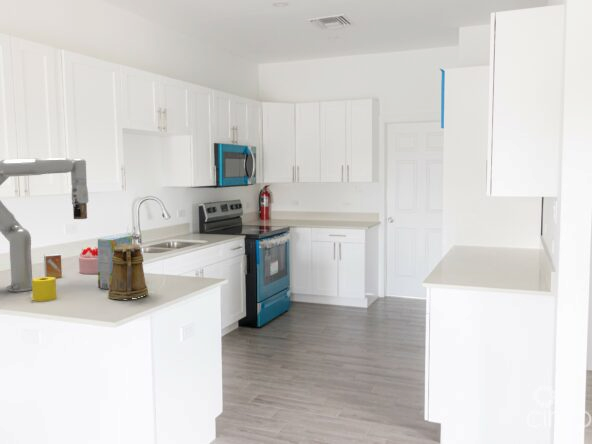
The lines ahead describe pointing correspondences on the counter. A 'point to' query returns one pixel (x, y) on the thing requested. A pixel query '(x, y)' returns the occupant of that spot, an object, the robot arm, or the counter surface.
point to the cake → (88, 261)
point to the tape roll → (44, 288)
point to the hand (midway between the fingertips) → (80, 215)
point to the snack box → (108, 257)
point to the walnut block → (82, 212)
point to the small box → (53, 265)
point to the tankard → (127, 273)
